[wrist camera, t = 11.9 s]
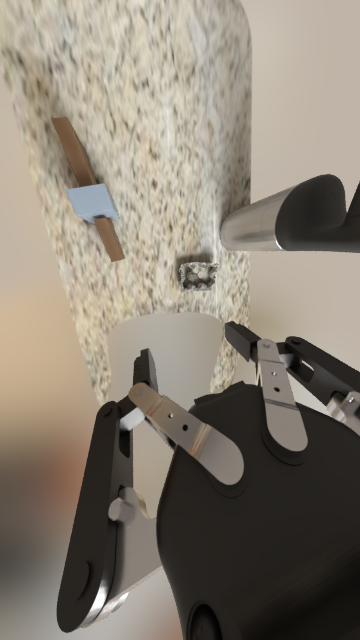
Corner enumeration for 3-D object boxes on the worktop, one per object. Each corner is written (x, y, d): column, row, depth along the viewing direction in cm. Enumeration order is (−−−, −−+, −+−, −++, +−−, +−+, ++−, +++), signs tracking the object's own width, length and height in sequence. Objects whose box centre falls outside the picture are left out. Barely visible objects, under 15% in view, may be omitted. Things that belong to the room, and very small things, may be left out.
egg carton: (213, 261, 39) (220, 262, 36) (210, 287, 43) (216, 290, 39) (177, 261, 37) (182, 262, 33) (177, 288, 40) (181, 292, 37)
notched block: (114, 201, 28) (104, 183, 20) (120, 219, 30) (113, 208, 22) (86, 206, 28) (65, 189, 20) (93, 224, 29) (76, 215, 21)
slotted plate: (85, 150, 24) (67, 117, 18) (125, 258, 33) (121, 259, 27) (73, 151, 24) (51, 118, 18) (116, 259, 33) (111, 262, 27)
